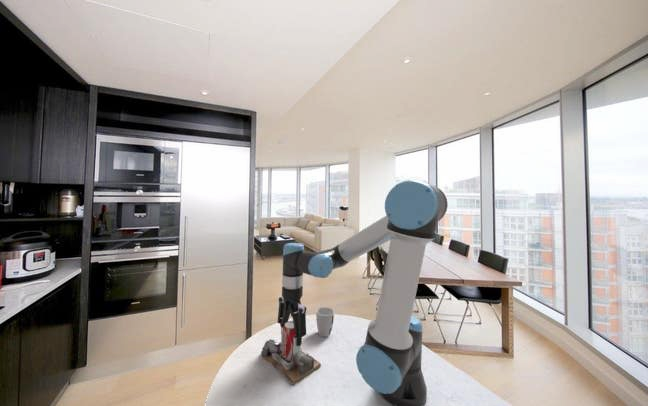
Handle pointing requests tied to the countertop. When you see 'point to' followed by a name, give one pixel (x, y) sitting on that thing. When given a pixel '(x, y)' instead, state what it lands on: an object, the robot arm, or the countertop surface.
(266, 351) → the shaft
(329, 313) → the cup
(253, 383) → the countertop surface
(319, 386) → the countertop surface
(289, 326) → the beverage can
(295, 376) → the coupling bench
